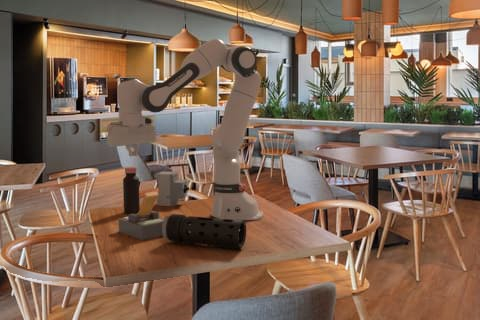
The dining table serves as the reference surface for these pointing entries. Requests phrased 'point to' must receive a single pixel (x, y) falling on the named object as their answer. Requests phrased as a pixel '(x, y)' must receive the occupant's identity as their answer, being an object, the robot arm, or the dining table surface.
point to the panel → (141, 226)
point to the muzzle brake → (205, 231)
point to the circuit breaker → (170, 188)
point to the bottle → (131, 191)
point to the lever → (147, 204)
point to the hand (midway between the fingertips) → (133, 156)
